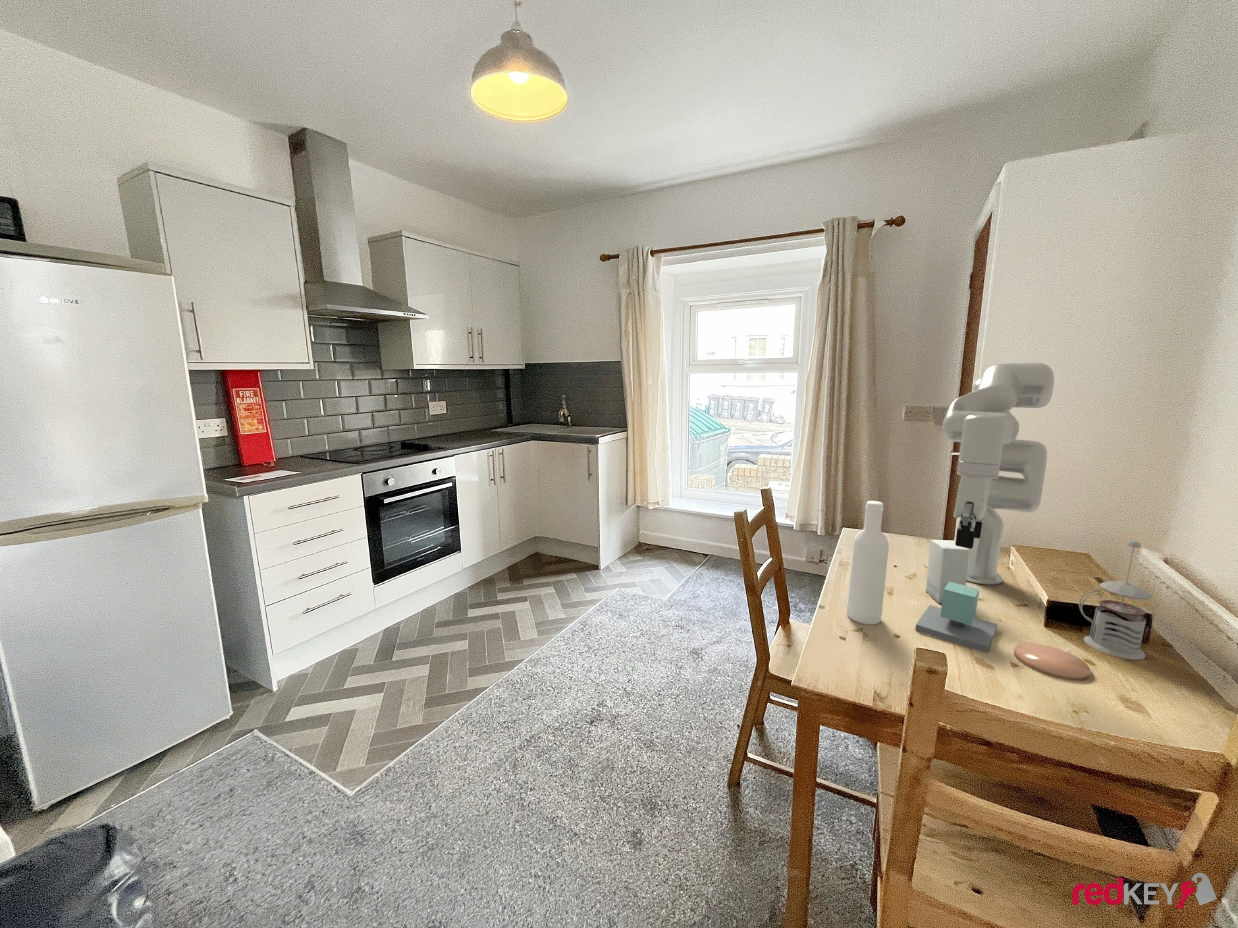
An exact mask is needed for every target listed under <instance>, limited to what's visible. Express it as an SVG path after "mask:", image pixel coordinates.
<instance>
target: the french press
mask: <svg viewBox="0 0 1238 928" xmlns="http://www.w3.org/2000/svg"><path fill="white" fill-rule="evenodd" d="M1127 545H1128V546H1129V547H1131V548H1132V551H1131V556H1130V562H1129V566H1128V572H1127V575H1126V580H1125V581H1122V580H1121V581H1120V580H1117V581H1116V580H1112V581H1111V580H1110V581H1109V580H1108V581H1105V582H1101V583H1099V587H1100V588H1101V590H1103V591H1105V592H1108V593H1110V594H1113V595H1116V596H1119V597H1122V600H1121V601H1118V600H1113V599H1102V595H1103V594H1102V593H1101V592H1100V591H1099V590H1098V589H1094V590H1088V591H1087V592H1084V594H1083V595H1081V596H1080V598H1079V601H1078V607H1079V608H1078V609H1079V611H1080V613H1081V615H1082V616H1083V618H1085V619H1086V620H1087V621H1088V622H1090V623H1091V625H1090V631H1089V635H1087V636H1086V635H1085V636H1084V637H1083V641H1084V642H1085V643H1086V645H1088V646H1090V647H1091V648H1093V649H1094V650H1097V651H1099V652H1102V653H1104V654H1107V655H1110V656H1114V657H1118V658H1121V659H1126V660H1127V659H1129V660H1143V659H1145V658H1146V654H1145V652H1144V651H1143V650H1142V649H1141V646H1142V645H1141V644H1142V640H1143V635H1144V631H1145V626H1146V622H1147V619H1146V618H1145V615H1146V612H1145V610H1144V609H1142V608H1140V607H1139V606H1136V605H1134V604H1133V605H1132V604H1130V603H1126V602H1124V601H1125V598H1126V599H1127V598H1128V599H1133V600H1144V601H1145V600H1146V601H1148V600H1150V599H1152V598H1153V595H1152V594H1151V592H1149V591H1148V590H1147V589H1145V588H1144V587H1141V586H1139V585H1136V584H1133V583H1131V582H1129V581H1128V580H1129V575H1130V571H1131V566H1132V560H1133V556H1134V555H1133V554H1134V551H1135V548H1136V549H1140V548H1141V547H1142V545H1141V543H1140V542H1138V541H1136V540H1132V541H1129V542H1128V544H1127ZM1091 592H1093V593H1091ZM1094 592H1095V593H1094ZM1089 593H1091V594H1089ZM1086 595H1087V596H1086ZM1094 595H1097V597H1098V598H1099V599H1101V600H1099V605H1097V606H1096V607H1095V610H1094V611H1095V612H1094V617H1093V619H1092V618H1090V617H1089V616H1086V614H1085V613H1084V610H1083V606H1084V602H1085V601H1086V600H1087V599H1088V598H1089V597H1091V596H1094ZM1085 596H1086V597H1085ZM1083 598H1084V599H1083ZM1082 600H1083V601H1082ZM1102 611H1106V612H1102ZM1107 611H1111V612H1113V613H1110V612H1107ZM1114 613H1115V614H1114ZM1116 614H1118V615H1119V616H1117V615H1116ZM1120 616H1121V617H1123V618H1124V619H1126V620H1124V619H1123V618H1121V617H1120ZM1111 623H1113V624H1115V625H1113V624H1111ZM1112 629H1113V630H1112Z"/></svg>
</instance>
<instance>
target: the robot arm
mask: <svg viewBox="0 0 1238 928" xmlns="http://www.w3.org/2000/svg"><path fill="white" fill-rule="evenodd" d="M1054 385H1055V375H1054V372H1053V369H1052V368H1051V366H1049V365H1048V364H1046V363H1042V362H1021V363H1020V362H1018V363H1017V362H1012V363H1011V362H1009V363H1008V362H1005V363H998V364H995V365H991V366H990V367H988V368H987V369H986V370H985V371H984V372H983V374H982V376H981V378H978V379H977V380H976V381H975V382H974V384H973V387H972V391H971V392H969V393H966V394H964V395H961V396H959V397H958V398H956V399H954V400H953V401H952V402H951V403H950V405H949V406H948V409H947V411H946V413H945V416H944V418H943V422H942V427H941V429H942V430H941V431H942V435H943V437H944V438H945V439H946V440H948V441H949V442H952V443H953V442H954V443H960V446H959V454H958V463H957V469H956V474H957V475H958V476H960V480H959V484H958V487H957V488H958V489H957V493H956V494H957V495H956V500H955V506H954V512H953V517H954V518H955V519H958V518H959V522H958V526H957V529H956V535H955V541H956V543H955V545H956V546H959V547H964V548H967V549H969V557H968V567H967V577H966V582H969V583H970V582H971V583H976V584H980V585H989V586H992V585H999V584H1001V583H1002V582H1003V577H1002V575H1000V574H999V573H997V571H998V564H999V560H1000V559H999V558H1000V552H1001V551H1000V550H1001V545H1002V539H1003V532H1004V521H1003V519H1002V518H1001V516H1000V514H999V513H998V512H997V510H1000V509H1001V510H1004V511H1005V510H1006V511H1012V512H1021V513H1033V512H1035V511H1037V510H1038V508H1039V507H1040V504H1041V501H1042V495H1043V488H1044V481H1045V476H1046V468H1047V461H1048V450H1047V448H1046V446H1045V445H1044V443H1042V442H1040V441H1035V440H1028V439H1026V440H1025V439H1017V437H1018V435H1019V432H1020V431H1019V430H1020V422H1019V421H1018V420H1017V418H1016V416H1014V415H1013V414H1012V413H1011V410H1012V409H1013V408H1023V409H1025V408H1026V409H1040V408H1044V407H1046V406H1047V405H1048V404H1049V402H1050V401H1051V399H1052V396H1053V391H1054ZM1000 472H1003V473H1014V474H1020V475H1021V476H1022V477H1020V478H1019V477H1013V476H1012V477H1011V476H1003V475H1000Z"/></svg>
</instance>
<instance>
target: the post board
mask: <svg viewBox="0 0 1238 928" xmlns="http://www.w3.org/2000/svg"><path fill="white" fill-rule="evenodd" d="M941 608H942V607H939V606H935V605H933V604H932V605H931V604H929V605H928V607H927V608H926V610H924V613H923V614H922V615H921V617H920V618H919V619H918V621H917V622H916V624H915V631H916V630H918V631H917V632H920V631H921V632H920V633H923V632H924V633H923V634H926V633H927V634H926V635H929V634H931V635H930V636H932V635H933V637H935V636H936V637H935V638H939V639H942V640H945V641H949V642H952V643H955V644H958V645H961V646H962V647H963V646H964V647H967V648H970V649H972V650H973V649H974V650H976V651H980V652H983V653H986V654H989V652H990V650H991V646H992V644H993V641H994V639H995V636H996V632H997V631H998V623H995V622H991V621H988V620H985V619H982V618H978V617H975V619H974V621H973V623H972V625H967V624H964V623H961V622H957V621H954V620H950V619H947V618H944V617H940V615H941Z"/></svg>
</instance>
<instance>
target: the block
mask: <svg viewBox="0 0 1238 928" xmlns="http://www.w3.org/2000/svg"><path fill="white" fill-rule="evenodd" d="M979 595H980V588H977V587H973V586H969V585H966V586H965V585H961V584H957V583H953V582H949V583H948V584H947V586H946V587H945V588H944V593H943V600H942V603H941V607H940V608H941V615H940V617H944V618H947V619H950V620H954V621H957V622H961V623H964V624H967V625H972V623H973V621H974V619H975V618H976V616H977V609H978V603H979V601H978V600H979Z"/></svg>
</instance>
